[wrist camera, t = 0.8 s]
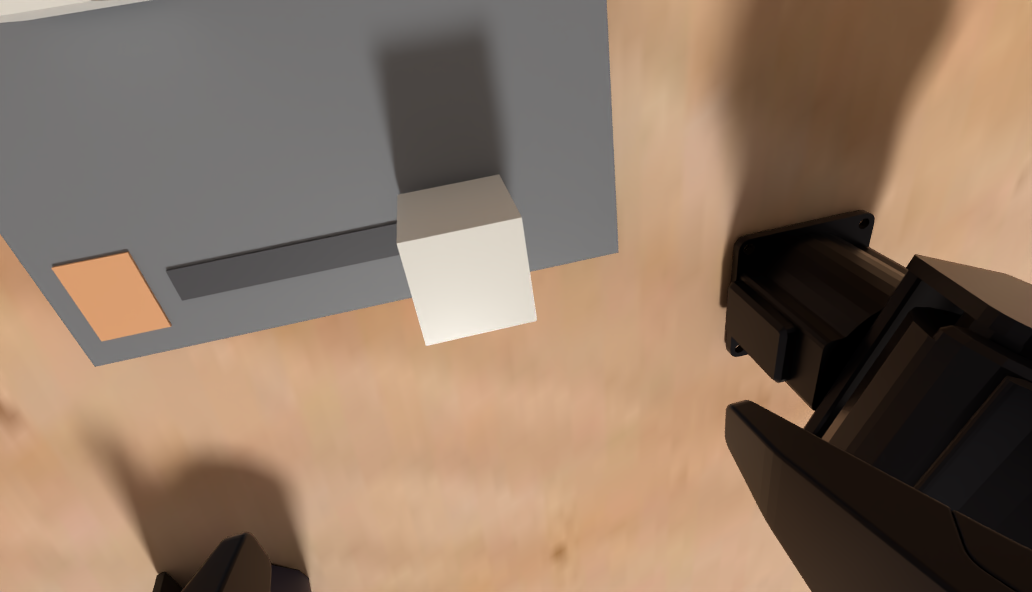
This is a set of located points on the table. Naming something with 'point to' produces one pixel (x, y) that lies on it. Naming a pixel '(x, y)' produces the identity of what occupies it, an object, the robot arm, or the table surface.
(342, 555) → the table surface
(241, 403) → the table surface
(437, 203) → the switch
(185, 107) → the switch board
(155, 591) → the speaker
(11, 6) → the switch mid
